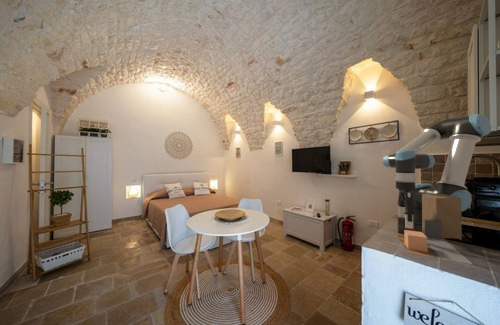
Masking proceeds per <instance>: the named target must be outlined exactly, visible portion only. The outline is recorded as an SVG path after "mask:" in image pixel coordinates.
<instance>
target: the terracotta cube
mask: <svg viewBox="0 0 500 325" xmlns="http://www.w3.org/2000/svg"><path fill="white" fill-rule="evenodd" d="M404 236H405V245H406V246H407V248H408V249H411V250H416V251H422V252H427V249H428V243H427V237H426V236H425V235H424V234H423V231H416V230H414V231H409V230H404Z"/></svg>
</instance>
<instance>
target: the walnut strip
mask: <svg viewBox="0 0 500 325" xmlns="http://www.w3.org/2000/svg"><path fill="white" fill-rule="evenodd" d="M396 218H397V231H395V235H396V236H397V238H398V239H399V241H400V243H401V244H402V246H403V248H404V250H405V251H406V253H407V254H411V255H418V256H422V257H427V258H428V257H429V258H434V259H435V256H434V254H432V253H431V251H430V250H429V249H428V248H427V252H422V251H416V250H411V249H408V248H407V246H406V245H405V236H404V230H409V231H415V224H414V219H413V229H411V228H406V227H405V217H399V216H397V217H396Z"/></svg>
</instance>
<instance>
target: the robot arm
mask: <svg viewBox="0 0 500 325" xmlns="http://www.w3.org/2000/svg"><path fill="white" fill-rule="evenodd" d="M490 124H491V122H490V119H489V118H488V117H487V116H486V115H485V114H483V113H476V114H469V115H464V116H458V117H452V118H446V119H442V120H440V121H438V122H435V123H433V124H432V125H430V126H428V127H427V128H425V129H424V130H423V131H421V133H420V134H419V135H418V136H417V137H415V138H413V140H411V141H410V142H408V143H407V144H406V145H404V146H403V147H402V148H400V149H399V150H397V151H396V152H394V153H392V154H386V155H385V156H383V158H382V160H381V162H382V165H383V166H384V167H386V168H391V169H394V168H395V174H394V175H393V176H394V177H395V180H396V181H395V189H397V190H398V199H397V205H398V217H405V227H406V228H411V229H413V219H414V225H419V226H422V194H445V195H449V196H454V197H458V198H461V213H462V212H464V211H466V210H467V209H468V208H469V207H470V206H471V204H472V199H473V198H472V194H471V192H470V191H468V188H467V186H466V185H465V182H466V178H467V175H468V172H469V168H470V166H471V161H472V157H473V154H474V151H475V146H476V144H477V143H480V142H481V140H482V138H483V137H484V136H488V135H490V133H491V131H492V125H491V126H490ZM445 139H446V140H448V139H449V141H451V144H450V147H449V149H448V150H449V151H448V154H447V158H446V161H445V165H444V168H443V172H442V174H441V177H440V178H441V179H440V180H439V181H437V182H436V183H435V186H433V185H432V183H416V169H417V170H420V169H421V170H426V169H430V168H432V167H434V165H435V164H436V159H435V157H434V156H433V155H431V154H429V153H421V152H423V150H425V149H426V148H428V147H429V146H430V145H432V144H434V143H437V142H440V141H441V140H445Z"/></svg>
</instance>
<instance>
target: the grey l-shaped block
mask: <svg viewBox="0 0 500 325" xmlns="http://www.w3.org/2000/svg"><path fill="white" fill-rule="evenodd" d="M422 233H423V234H424V235H425V236H426V237H427V245H429V246H430V248H432V250H433V251H434V252H435V253H436V254H437V256H438V257H440V259H441V260H444V261H445V260H446V261H450V262H457V263H461V264H468V265H473V263H472V262H471V261H470V260H469V259H467V258H466V257H465V255H463V254H462V253H460V251H458V250H457V249H456V248H455V247H454V246H452V244H451V243H449V242H448V241H447V240H446V238H442V222H441V221H435V220H425V219H423V231H422Z"/></svg>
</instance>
